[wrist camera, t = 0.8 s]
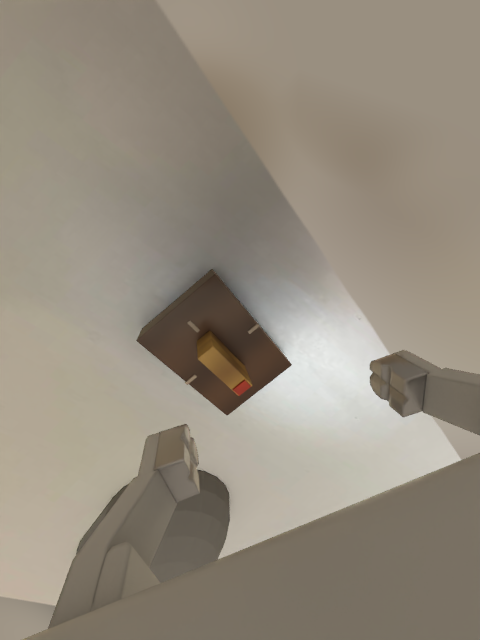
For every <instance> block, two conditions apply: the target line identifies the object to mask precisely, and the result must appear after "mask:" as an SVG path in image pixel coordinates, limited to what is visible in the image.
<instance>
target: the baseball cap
mask: <svg viewBox="0 0 480 640" xmlns="http://www.w3.org/2000/svg"><path fill="white" fill-rule="evenodd" d="M197 471H198V470H197ZM198 474H199V486H200V493H199V494H197V495H194V496H192V497H189V498H187V499H184V500H182V501H179V502H177V505H176V508H175V510H174V512H173V514H172V517H171V519H170V521H169V524H168V526H167V528H166V530H165V533H164V535H163V537H162V539H161V542H160V544H159V546H158V549H157V551H156V553H155V555H154V558H153V560H152V562H151V564H150V567H149V569H150V570H151V571H152V573H153V574H154V575H155V576H156V578H157V579H158V580H159V582H160V583H162V582H165V581H167V580H169V579H172V578H174V577H177V576H179V575H182V574H184V573H187V572H189V571H191V570H194V569H196V568H199V567H201V566H204V565H206V564H209V563H211V562H213V561H216V560H217V559H218V557H219V554H220V552H221V550H222V548H223V545H224V542H225V540H226V535H227V530H228V526H229V521H230V515H229V493H228V491H227V489H226V487H225V485H224V484H223V483H222V482H221V481H220V480H219V479H218V478H217V477H215V476H213V475H210V474H208V473H206V472H203V471H198ZM128 485H129V484H128ZM128 485H127V486H128ZM127 486H125V487H124V488H122V489H121V490H120V491H119V492H118V493H117V494H116V495H115V496H114V497H113V498H112V500H111V501H110V503H109V504H108V505H107V506H106V508H105V509H104V510H103V512H102V513H101V514H100V516H99V517H98V518H97V520H96V521H95V522H94V524H93V525H92V526H91V527H90V529H89V530H88V531H87V533H86V534H85V535H84V537H83V538H82V539H81V541H80V543H79V546H78V549H77V553H76V555H77V554H78V552H79V551H80V550H81V548H82V547H83V546H84V544H85V543H86V541H87V540H88V539H89V537H90V536H91V535H92V533H93V532H94V531H95V529H96V528H97V527H98V525H99V524H100V523H101V521H102V520H103V519H104V517H105V516H106V515H107V513H108V512H109V511H110V509H111V508H112V507H113V505H114V504H115V503H116V501H117V500H118V499H119V497H120V496H121V495H122V493H123V492H124V490H125V489H126V488H127Z"/></svg>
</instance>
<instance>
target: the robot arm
mask: <svg viewBox="0 0 480 640" xmlns="http://www.w3.org/2000/svg"><path fill="white" fill-rule="evenodd" d="M370 370H371V371H372V372H373V373H372V375H371V376H370V385H371V387H372V389H373V391H374V392H375V393H376V395H378V396H379V397H380V398H381V399H384V400H387V401H389V406H390V407H391V408H393V409H394V410H395V411H396V412H397V413H399V414H400V415H401V416H402V417H406V416H409V415H412V414H415V413H418V412H421V411H423V412H424V413H426V414H429V415H431V416H433V417H436V418H438V419H441V420H443V421H446V422H448V423H451V424H453V425H455V426H458V427H460V428H463V429H465V430H468V431H470V432H473V433H475V434H477V435H480V374H474V373H469V372H464V371H459V370H453V369H448V368H444V369H441V368H439V367H437V366H435V365H433V364H431V363H429V362H427V361H426V360H424V359H422V358H420V357H418V356H416V355H414V354H412V353H410V352H408V351H404V350H402V351H399V352H396V353H393V354H391V355H388V356H385V357H382V358H379V359H377V360H374V361H371V363H370ZM198 464H199V460H198V452H197V447H196V444H195V441H194V439H193V438H192V437H190V429H189V427H188V425H187V424H184V425H181V426H177V427H174V428H171V429H168V430H164V431H161V432H159V433H156V434H152V435H149V436H148V437H147V439H146V441H145V446H144V450H143V455H142V460H141V464H140V469H139V473H138V477H136V478H133V480H132V481H131V482H130V484H129V485H128V486H127V488H126V489H125V490H124V492H123V493H122V495H121V496H120V497H119V499H118V500H117V501H116V503H115V504H114V505H113V507H112V508H111V509H110V511H109V512H108V513H107V515H106V516H105V517H104V519H103V520H102V521H101V523H100V524H99V525H98V527H97V528H96V529H95V531H94V532H93V533H92V535H91V536H90V537H89V539H88V540H87V541H86V543H85V544H84V546H83V547H82V548H81V550H80V551H79V552H78V554H77V555H76V556H75V558H74V559H73V561H72V564H71V567H70V569H69V572H68V575H67V578H66V580H65V583H64V586H63V589H62V591H61V594H60V597H59V600H58V602H57V605H56V608H55V611H54V613H53V616H52V619H51V622H50V625H49V627H48V629H47V630H44V631H42V632H39V633H37V634H34V635H32V636H30V637H27V638H25V639H22V640H480V453H478V454H476V455H473V456H471V457H468V458H466V459H463V460H461V461H458V462H456V463H453V464H451V465H449V466H446V467H444V468H441V469H439V470H436V471H434V472H431V473H429V474H426V475H424V476H422V477H419V478H417V479H414V480H412V481H409V482H407V483H404V484H402V485H399V486H397V487H395V488H392V489H390V490H387V491H385V492H382V493H380V494H377V495H375V496H372V497H370V498H368V499H365V500H363V501H360V502H358V503H355V504H353V505H350V506H348V507H346V508H343V509H341V510H338V511H336V512H333V513H331V514H329V515H326V516H324V517H321V518H319V519H316V520H314V521H311V522H309V523H307V524H304V525H302V526H299V527H297V528H294V529H292V530H289V531H287V532H284V533H282V534H280V535H277V536H275V537H272V538H270V539H267V540H265V541H262V542H260V543H258V544H255V545H253V546H250V547H248V548H245V549H243V550H240V551H238V552H236V553H233V554H231V555H228V556H226V557H223V558H221V559H218V560H216V561H213V562H211V563H209V564H206V565H204V566H201V567H199V568H196V569H194V570H191V571H189V572H187V573H184V574H182V575H179V576H177V577H174V578H172V579H169V580H167V581H165V582H162V583H160V582H159V580H158V579H157V578H156V576H155V575H154V574H153V573H152V571H151V570H150V569H149V567H150V564H151V562H152V560H153V558H154V555H155V553H156V551H157V549H158V546H159V544H160V542H161V539H162V537H163V535H164V533H165V530H166V528H167V526H168V524H169V521H170V519H171V517H172V514H173V512H174V510H175V508H176V505H177V502H179V501H182V500H184V499H187V498H189V497H192V496H194V495H197V494H199V493H200V486H199V474H198V471H197V469H196V468H197V466H198Z"/></svg>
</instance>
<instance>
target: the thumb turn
mask: <svg viewBox="0 0 480 640" xmlns="http://www.w3.org/2000/svg"><path fill="white" fill-rule="evenodd" d="M197 356H198V360H200V361H201V362H202V363H203V364H204V365H205V366H206V367H207V368H208V369H209V370H210V371H212V372H213V373H214V374H215V375H216V376H217V377H218V378H219V379H220V380H221V381H223V382H224V383H225V384H226V385H227V386H228V387H229V388H230V389H231V390H232V391H234V392H235V393H236V394H237V395H238V396H240V395H241V394H242V393H244V392H245V391H246V390H247V389H249V388H250V387H251V386H252V382H251V380H250V378H249V375H248V373H247V370H246V368H245V366H244V365H243V364H242V363H241V362H240V361H239V360H238V359H237V358H236V357H235V356H234V355H233V354H232V352H231V351H230V350H229V349H228V348H227V347H226V346H225V345H224V344H223V343H222V342H221V341H220V340H219V339H218V338H217V337H216V336H215V335H214V334H213V333H212V332H211V331H209V332H207V333H206V334H205V335H204V336H203V337H201V338H200V339H199V340H198V341H197Z"/></svg>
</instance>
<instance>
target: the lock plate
mask: <svg viewBox="0 0 480 640" xmlns="http://www.w3.org/2000/svg"><path fill="white" fill-rule="evenodd" d="M209 331H211V332H212V333H213V334H214V335H215V336H216V337H217V338H218V339H219V340H220V341H221V342H222V343H223V344H224V345H225V346H226V347H227V348H228V349H229V350H230V351H231V352H232V354H233V355H234V356H235V357H236V358H237V359H238V360H239V361H240V362H241V363H242V364H243V365H244V366H245V368H246V370H247V373H248V375H249V378H250V380H251V382H252V386H251V387H250V388H249V389H247V390H246V391H245V392H244V393H242V394H241V395H240V396H238V395H237V394H236V393H235V392H234V391H232V390H231V389H230V388H229V387H228V386H227V385H226V384H225V383H224V382H223V381H221V380H220V379H219V378H218V377H217V376H216V375H215V374H214V373H213V372H212V371H210V370H209V369H208V368H207V367H206V366H205V365H204V364H203V363H202V362H201V361H200V360H198V356H197V341H198V340H199V339H200V338H201V337H203V336H204V335H205V334H206V333H207V332H209ZM137 342H139V343H140V344H141V345H142V346H144V347H145V348H146V349H147V350H148V351H150V352H151V353H152V354H153V355H154V356H156V357H157V358H158V359H159V360H160V361H162V362H163V363H164V364H165V365H166V366H168V367H169V368H170V369H171V370H173V371H174V372H175V373H176V374H177V375H179V376H180V377H181V378H182V379H183V380H185V381H186V382H185V383H186V384H187V385H188V384H189V385H191V386H192V387H193V388H194V389H195V390H197V391H198V392H199V393H200V394H202V395H203V396H204V397H205V398H206V399H208V400H209V401H210V402H211V403H212V404H214V405H215V406H216V407H217V408H218V409H220V410H221V411H222V412H223V413H224V414H226V415H228V414H230V413H231V412H232V411H233V410H235V409H236V408H237V407H239V406H240V405H241V404H242V403H244V402H245V401H246V400H248V399H249V398H250V397H251V396H253V395H254V394H255V393H256V392H258V391H259V390H260V389H262V388H263V387H264V386H265V385H267V384H268V383H269V382H271V381H272V380H273V379H274V378H276V377H277V376H278V375H279V374H281V373H282V372H283V371H285V370H286V369H287V368H288V367H290V366H291V365H292V364H291V363H290V362H289V361H288V359H287V358H286V357H285V355H284V354H283V353H282V351H281V350H280V349H279V348H278V347H277V346H276V344H275V343H274V342H273V341H272V340H271V338H270V337H269V336H268V335H267V334H266V332H265V331H264V330H263V329H262V328H261V326H260V325H259V324H258V323H257V322H256V320H255V319H254V318H253V317H252V316H251V315H250V313H249V312H248V311H247V310H246V309H245V307H244V306H243V305H242V304H241V303H240V301H239V300H238V299H237V298H236V297H235V295H234V294H233V293H232V292H231V291H230V290H229V288H228V287H227V286H226V285H225V284H224V282H223V281H222V280H221V279H220V278H219V276H218V275H217V274H216V273H215V272H214V270H213V269H211V270H210V271H209V272H208V273H207V274H206V275H204V276H203V277H202V278H201V279H200V280H199V281H197V282H196V283H195V284H194V285H193V286H192V287H190V288H189V289H188V290H187V291H186V292H185V293H183V294H182V295H181V296H180V297H179V298H178V299H176V300H175V301H174V302H173V303H172V304H170V305H169V306H168V307H167V308H166V309H165V310H163V311H162V312H161V313H160V314H159V315H158V316H156V317H155V318H154V319H153V320H152V321H151V322H149V323H148V324H147V325H146V326H145V327H144V328H142V330H141V332H140V334H139V336H138V338H137Z"/></svg>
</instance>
